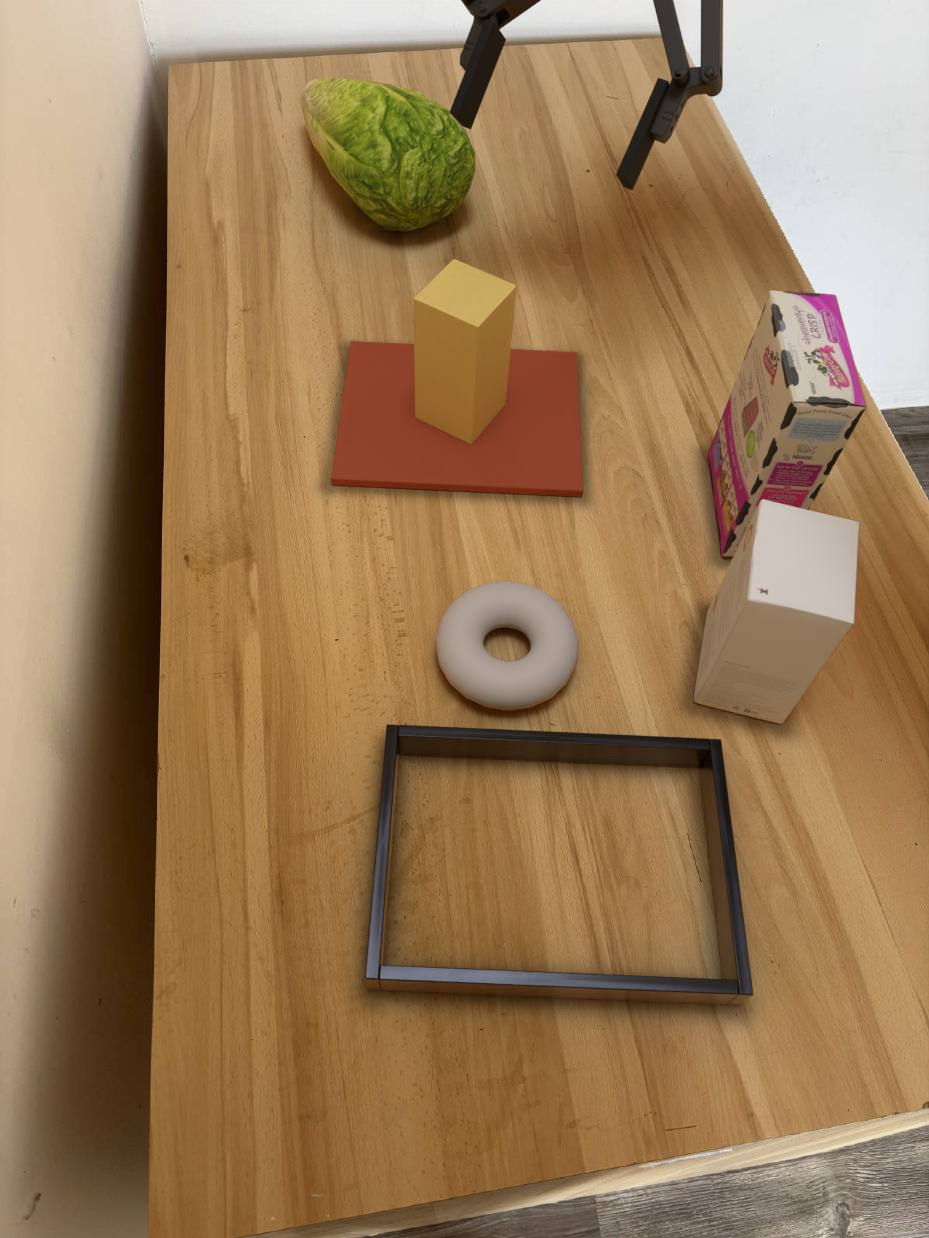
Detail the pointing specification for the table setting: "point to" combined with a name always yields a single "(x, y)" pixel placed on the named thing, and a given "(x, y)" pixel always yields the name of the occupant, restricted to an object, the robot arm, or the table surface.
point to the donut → (505, 679)
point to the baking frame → (573, 750)
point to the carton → (462, 349)
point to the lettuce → (390, 149)
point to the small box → (778, 611)
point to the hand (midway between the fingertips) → (539, 152)
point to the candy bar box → (785, 412)
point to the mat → (432, 459)
